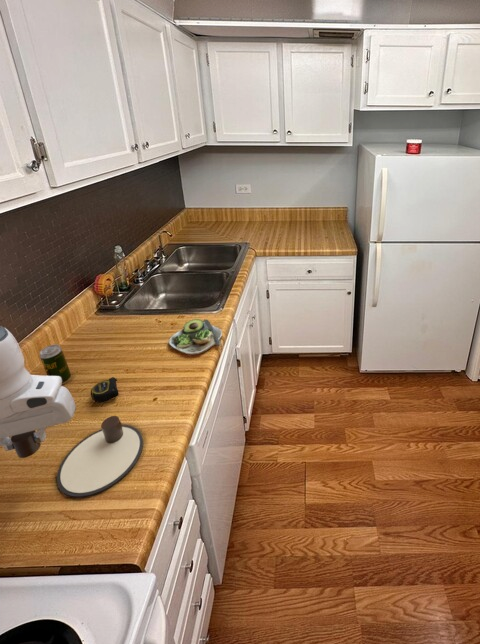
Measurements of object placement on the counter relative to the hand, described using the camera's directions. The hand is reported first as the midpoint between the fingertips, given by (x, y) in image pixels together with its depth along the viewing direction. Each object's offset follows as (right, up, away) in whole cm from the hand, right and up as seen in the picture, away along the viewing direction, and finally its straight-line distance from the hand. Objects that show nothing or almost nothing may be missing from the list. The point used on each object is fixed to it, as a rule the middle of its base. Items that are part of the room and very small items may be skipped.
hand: (27, 443), depth 74 cm
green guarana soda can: (-16, +1, +31) cm, 35 cm away
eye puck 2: (+12, -5, +12) cm, 18 cm away
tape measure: (+2, -1, +26) cm, 26 cm away
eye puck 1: (0, -2, +1) cm, 2 cm away
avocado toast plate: (+20, +9, +50) cm, 54 cm away
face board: (+12, -8, +7) cm, 16 cm away
